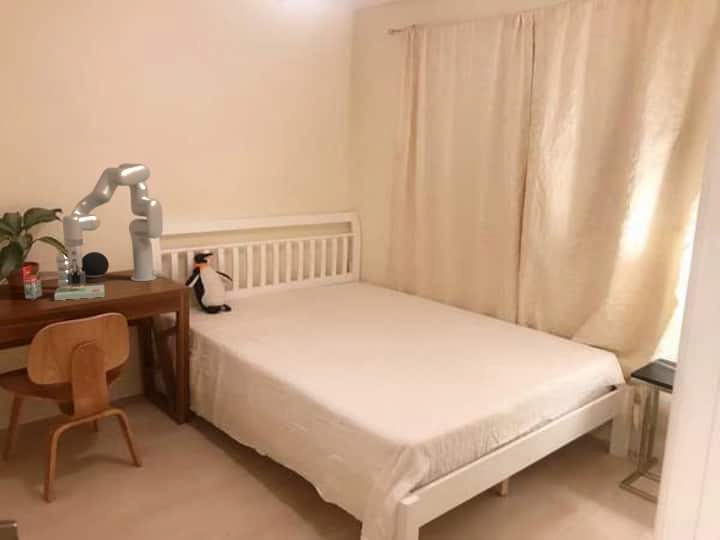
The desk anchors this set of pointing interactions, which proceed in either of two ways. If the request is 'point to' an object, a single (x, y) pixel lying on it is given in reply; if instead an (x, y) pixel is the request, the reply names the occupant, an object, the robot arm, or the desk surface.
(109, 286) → the desk surface
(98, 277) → the round black speaker
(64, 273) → the plastic bottle
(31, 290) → the ink box
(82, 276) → the plug
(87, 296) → the pale green book
